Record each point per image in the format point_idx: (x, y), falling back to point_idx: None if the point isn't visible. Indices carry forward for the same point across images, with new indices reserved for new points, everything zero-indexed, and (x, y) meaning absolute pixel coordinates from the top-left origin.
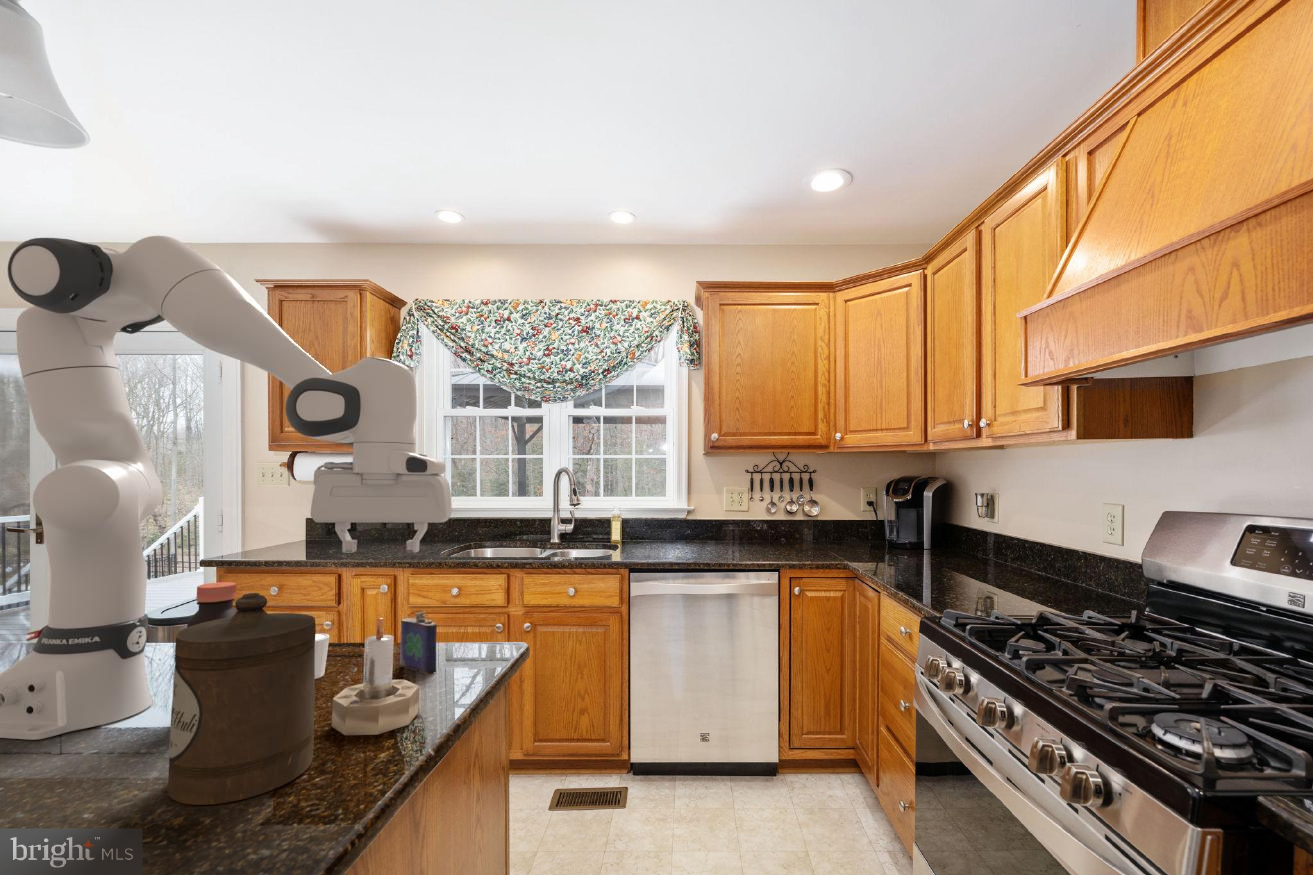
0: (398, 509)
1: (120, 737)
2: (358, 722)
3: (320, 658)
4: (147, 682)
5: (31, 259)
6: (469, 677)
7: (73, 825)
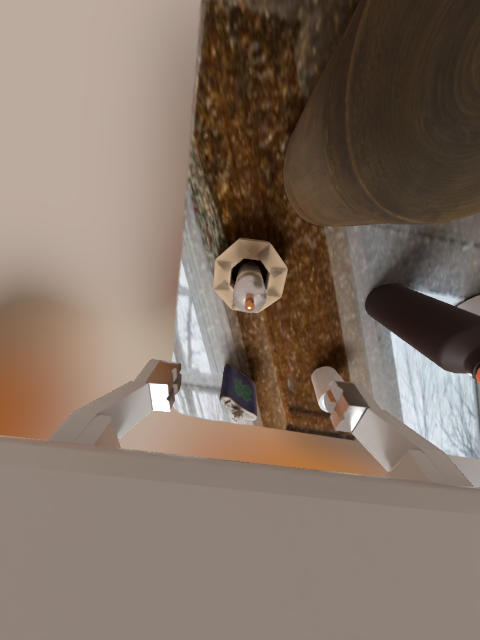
0: (112, 565)
1: (448, 273)
2: (257, 240)
3: (318, 381)
4: None
5: None
6: (193, 351)
7: None
